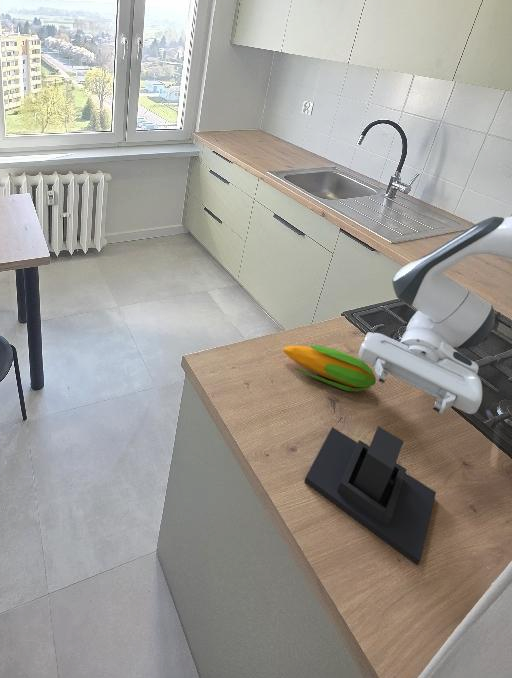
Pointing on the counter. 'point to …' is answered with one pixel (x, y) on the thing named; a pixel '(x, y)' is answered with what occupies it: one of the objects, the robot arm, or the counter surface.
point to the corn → (333, 366)
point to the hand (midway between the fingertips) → (408, 393)
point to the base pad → (380, 518)
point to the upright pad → (378, 464)
